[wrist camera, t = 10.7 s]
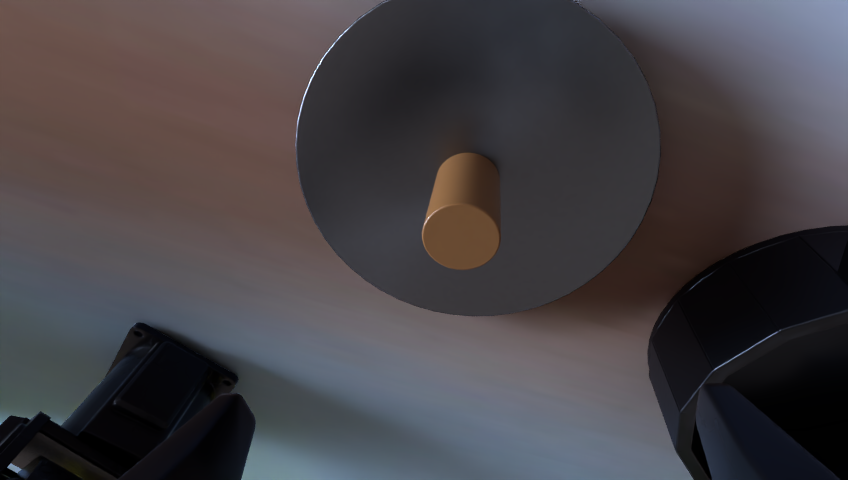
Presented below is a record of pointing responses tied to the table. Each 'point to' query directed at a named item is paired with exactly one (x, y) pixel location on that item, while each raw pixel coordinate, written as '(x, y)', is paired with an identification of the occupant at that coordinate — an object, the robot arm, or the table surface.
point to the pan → (762, 343)
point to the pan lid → (478, 151)
